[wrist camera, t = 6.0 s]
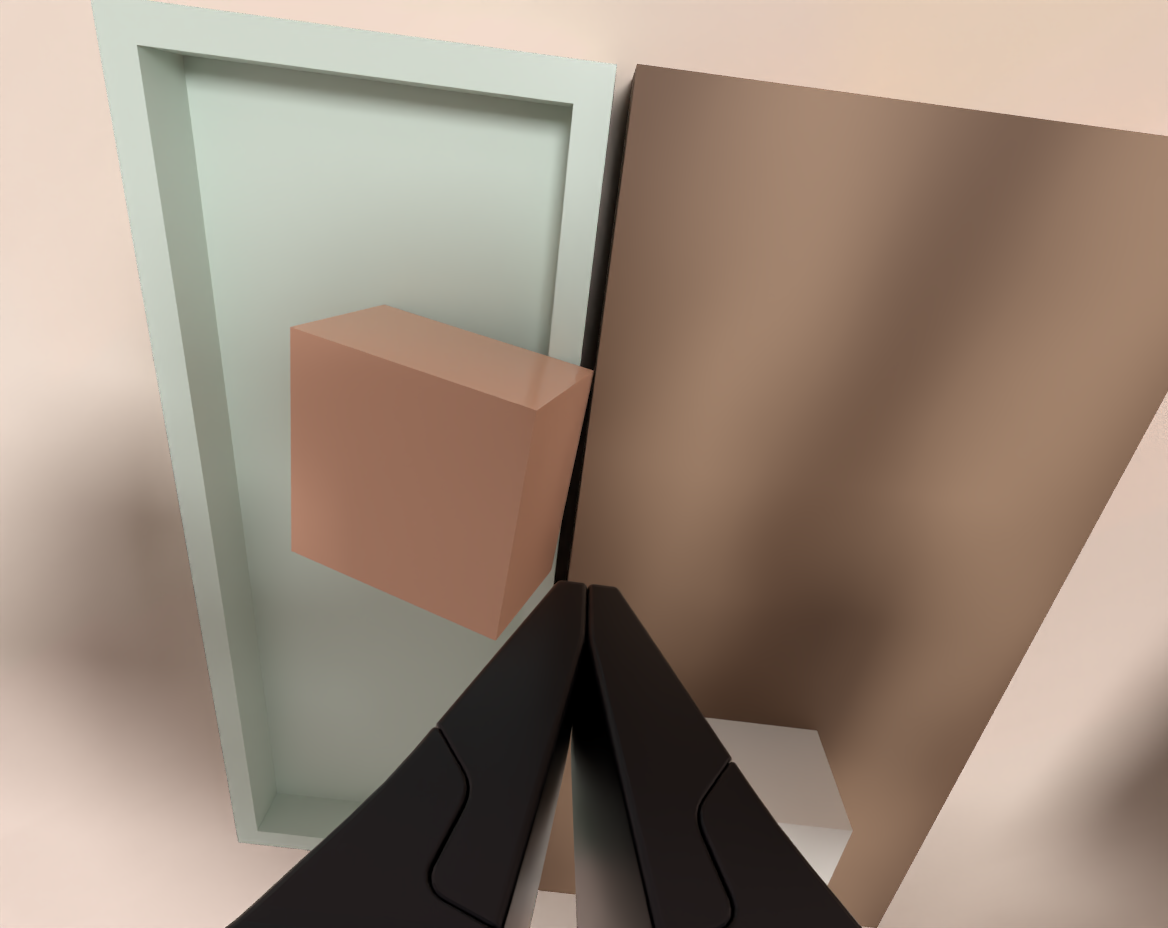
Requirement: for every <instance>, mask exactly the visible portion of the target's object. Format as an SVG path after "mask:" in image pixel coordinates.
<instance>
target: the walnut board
mask: <svg viewBox="0 0 1168 928" xmlns="http://www.w3.org/2000/svg"><path fill="white" fill-rule="evenodd" d="M1167 392H1168V136H1162V135H1154V134H1147V133H1140V132H1132V131H1125V130H1118V129H1110V128H1103V127H1096V126H1088V125H1081V124H1074V123H1066V122H1059V121H1052V120H1044V119H1037V118H1030V117H1022V116H1015V115H1008V114H1000V113H993V112H986V111H978V110H971V109H964V108H956V107H949V106H942V105H934V104H927V103H920V102H912V101H905V100H898V99H890V98H883V97H876V96H868V95H861V94H854V93H846V92H839V91H832V90H824V89H817V88H810V87H802V86H795V85H788V84H780V83H773V82H766V81H758V80H751V79H744V78H736V77H729V76H722V75H714V74H707V73H700V72H692V71H685V70H678V69H670V68H663V67H656V66H648V65H641V64H637V66H636V69H635V73H634V76H633V81H632V88H631V96H630V104H629V111H628V119H627V126H626V134H625V141H624V149H623V157H622V164H621V172H620V179H619V187H618V194H617V202H616V209H615V217H614V225H613V232H612V240H611V247H610V255H609V262H608V270H607V278H606V285H605V293H604V300H603V308H602V315H601V323H600V331H599V338H598V346H597V353H596V361H595V368H594V376H593V384H592V391H591V399H590V406H589V414H588V421H587V429H586V437H585V444H584V452H583V459H582V467H581V474H580V482H579V489H578V497H577V505H576V512H575V520H574V527H573V535H572V542H571V550H570V558H569V565H568V573H567V580H566V581H573V582H581V583H584V584H586V586H587V589H588V586H589V585H591V584H598V585H606V586H614V587H617V588H618V589H619V590H620V592H621V593H622V595H623V596H624V598H625V599H626V601H627V602H628V604H629V605H630V607H631V608H632V610H633V611H634V613H635V614H636V616H637V617H638V619H639V620H640V622H641V623H642V625H643V626H644V627H645V629H646V630H647V632H648V633H649V635H650V636H651V638H652V639H653V641H654V642H655V644H656V645H657V647H658V648H659V650H660V651H661V653H662V654H663V656H664V657H665V659H666V660H667V662H668V663H669V665H670V666H671V668H672V669H673V671H674V672H675V674H676V675H677V677H678V678H679V680H680V681H681V683H682V684H683V686H684V687H685V689H686V690H687V692H688V693H689V695H690V696H691V698H692V699H693V701H694V702H695V704H696V705H697V707H698V708H699V710H700V711H701V713H702V714H703V715H704V717H705V718H714V719H722V720H731V721H739V722H748V723H756V724H765V725H774V726H782V727H791V728H799V729H808V730H816V731H817V732H818V735H819V738H820V740H821V743H822V746H823V749H824V752H825V755H826V757H827V760H828V763H829V766H830V769H831V771H832V774H833V777H834V780H835V783H836V785H837V788H838V791H839V794H840V797H841V800H842V802H843V805H844V808H845V811H846V814H847V816H848V819H849V822H850V825H851V828H852V830H853V831H852V834H851V836H850V838H849V840H848V842H847V844H846V847H845V849H844V851H843V853H842V855H841V857H840V859H839V862H838V864H837V866H836V868H835V870H834V872H833V875H832V877H831V879H830V881H829V883H828V885H827V886H828V887H829V888H830V889H831V891H832V892H833V893H834V894H835V895H836V897H837V898H838V899H839V900H840V901H841V903H842V904H843V905H844V906H845V907H846V909H847V910H848V911H849V912H850V913H851V915H852V916H853V917H854V918H855V919H856V921H857V922H858V923H859V924H860V926H864V927H873V928H877V927H878V925H879V923H880V921H881V919H882V917H883V915H884V914H885V912H886V910H887V908H888V906H889V904H890V903H891V901H892V899H893V897H894V895H895V893H896V891H897V890H898V888H899V886H900V884H901V882H902V880H903V879H904V877H905V875H906V873H907V871H908V869H909V868H910V866H911V864H912V862H913V860H914V858H915V856H916V855H917V853H918V851H919V849H920V847H921V845H922V844H923V842H924V840H925V838H926V836H927V834H928V832H929V831H930V829H931V827H932V825H933V823H934V821H935V820H936V818H937V816H938V814H939V812H940V810H941V808H942V807H943V805H944V803H945V801H946V799H947V797H948V796H949V794H950V792H951V790H952V788H953V786H954V784H955V783H956V781H957V779H958V777H959V775H960V773H961V772H962V770H963V768H964V766H965V764H966V762H967V760H968V759H969V757H970V755H971V753H972V751H973V749H974V748H975V746H976V744H977V742H978V740H979V738H980V737H981V735H982V733H983V731H984V729H985V727H986V725H987V724H988V722H989V720H990V718H991V716H992V714H993V713H994V711H995V709H996V707H997V705H998V703H999V701H1000V700H1001V698H1002V696H1003V694H1004V692H1005V690H1006V689H1007V687H1008V685H1009V683H1010V681H1011V679H1012V677H1013V676H1014V674H1015V672H1016V670H1017V668H1018V666H1019V665H1020V663H1021V661H1022V659H1023V657H1024V655H1025V653H1026V652H1027V650H1028V648H1029V646H1030V644H1031V642H1032V641H1033V639H1034V637H1035V635H1036V633H1037V631H1038V630H1039V628H1040V626H1041V624H1042V622H1043V620H1044V618H1045V617H1046V615H1047V613H1048V611H1049V609H1050V607H1051V606H1052V604H1053V602H1054V600H1055V598H1056V596H1057V594H1058V593H1059V591H1060V589H1061V587H1062V585H1063V583H1064V582H1065V580H1066V578H1067V576H1068V574H1069V572H1070V570H1071V569H1072V567H1073V565H1074V563H1075V561H1076V559H1077V558H1078V556H1079V554H1080V552H1081V550H1082V548H1083V546H1084V545H1085V543H1086V541H1087V539H1088V537H1089V535H1090V534H1091V532H1092V530H1093V528H1094V526H1095V524H1096V522H1097V521H1098V519H1099V517H1100V515H1101V513H1102V511H1103V510H1104V508H1105V506H1106V504H1107V502H1108V500H1109V499H1110V497H1111V495H1112V493H1113V491H1114V489H1115V487H1116V486H1117V484H1118V482H1119V480H1120V478H1121V476H1122V475H1123V473H1124V471H1125V469H1126V467H1127V465H1128V463H1129V462H1130V460H1131V458H1132V456H1133V454H1134V452H1135V451H1136V449H1137V447H1138V445H1139V443H1140V441H1141V439H1142V438H1143V436H1144V434H1145V432H1146V430H1147V428H1148V427H1149V425H1150V423H1151V421H1152V419H1153V417H1154V415H1155V414H1156V412H1157V410H1158V408H1159V406H1160V404H1161V403H1162V401H1163V399H1164V397H1165V395H1166V393H1167ZM571 733H572V731H571ZM538 890H541V891H550V892H559V893H568V894H576V889H575V861H574V834H573V806H572V778H571V737H570V744H569V749H568V754H567V760H566V765H565V769H564V774H563V778H562V783H561V788H560V792H559V797H558V801H557V806H556V810H555V815H554V820H553V824H552V829H551V833H550V838H549V842H548V847H547V852H546V856H545V861H544V865H543V870H542V874H541V879H540V883H539V888H538Z"/></svg>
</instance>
